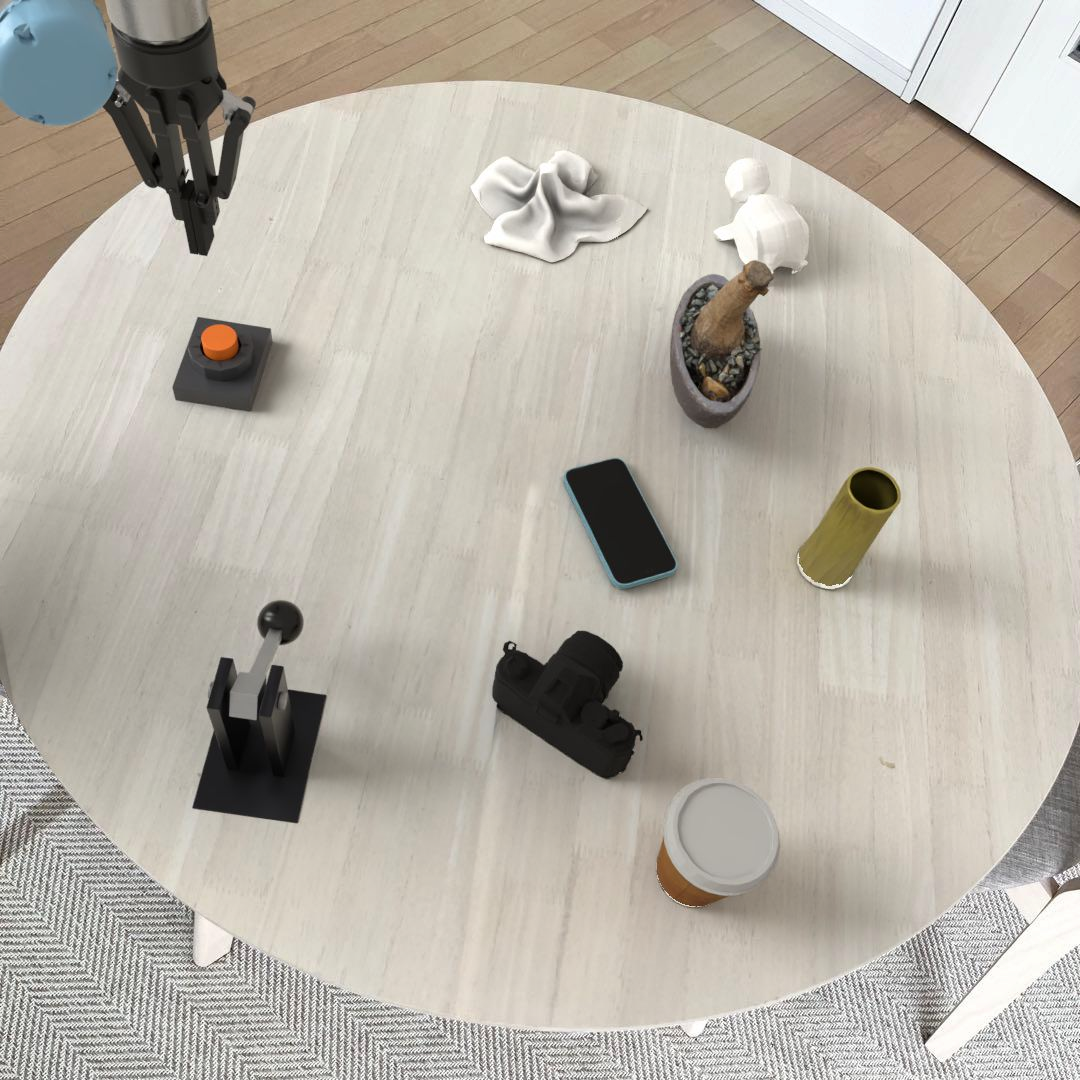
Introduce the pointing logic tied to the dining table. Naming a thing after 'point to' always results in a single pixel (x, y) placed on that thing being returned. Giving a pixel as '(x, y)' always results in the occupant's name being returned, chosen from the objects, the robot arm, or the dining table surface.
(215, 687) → the bracket
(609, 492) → the smartphone
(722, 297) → the planter
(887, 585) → the dining table surface
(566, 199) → the cloth
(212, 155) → the robot arm
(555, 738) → the film camera
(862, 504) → the vase
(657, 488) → the dining table surface
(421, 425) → the dining table surface
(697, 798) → the disposable coffee cup
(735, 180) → the white figurine
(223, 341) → the button
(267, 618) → the lever
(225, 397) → the control block
